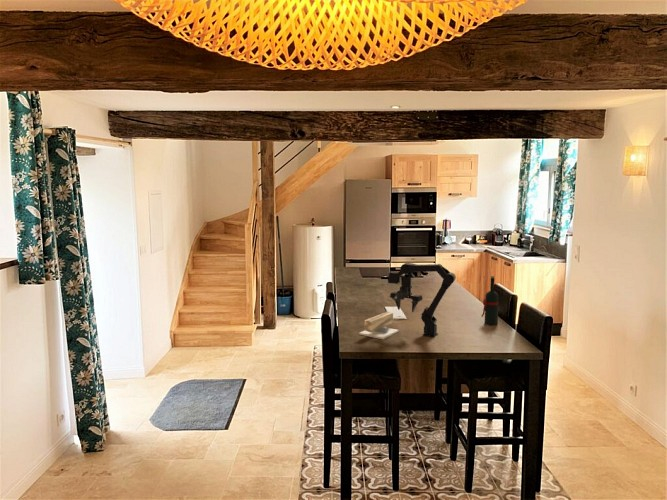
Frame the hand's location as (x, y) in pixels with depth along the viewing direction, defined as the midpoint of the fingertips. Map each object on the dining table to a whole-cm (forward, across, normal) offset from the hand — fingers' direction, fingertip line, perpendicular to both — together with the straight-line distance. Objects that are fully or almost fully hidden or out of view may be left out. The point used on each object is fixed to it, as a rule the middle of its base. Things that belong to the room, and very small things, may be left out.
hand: (405, 310), depth 299 cm
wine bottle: (+13, +33, +46) cm, 58 cm away
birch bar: (+9, -12, -10) cm, 18 cm away
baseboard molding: (+14, -26, +34) cm, 45 cm away
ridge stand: (+13, -12, -10) cm, 20 cm away
